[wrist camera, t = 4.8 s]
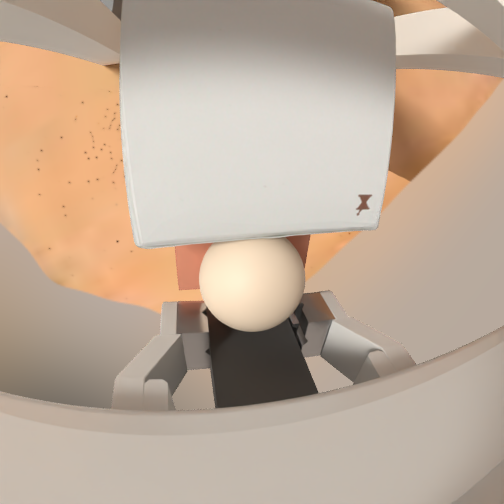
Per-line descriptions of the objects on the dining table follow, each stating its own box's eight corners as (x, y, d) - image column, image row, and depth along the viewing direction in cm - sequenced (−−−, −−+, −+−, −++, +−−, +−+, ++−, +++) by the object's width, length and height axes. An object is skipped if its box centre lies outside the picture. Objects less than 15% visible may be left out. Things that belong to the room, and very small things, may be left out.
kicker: (182, 158, 17) (158, 327, 5) (260, 157, 18) (397, 302, 6) (186, 250, 20) (194, 453, 8) (254, 247, 21) (326, 433, 9)
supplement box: (281, 52, 15) (404, 7, 5) (277, 155, 19) (382, 239, 8) (166, 53, 14) (119, -22, 3) (169, 160, 18) (134, 259, 7)
